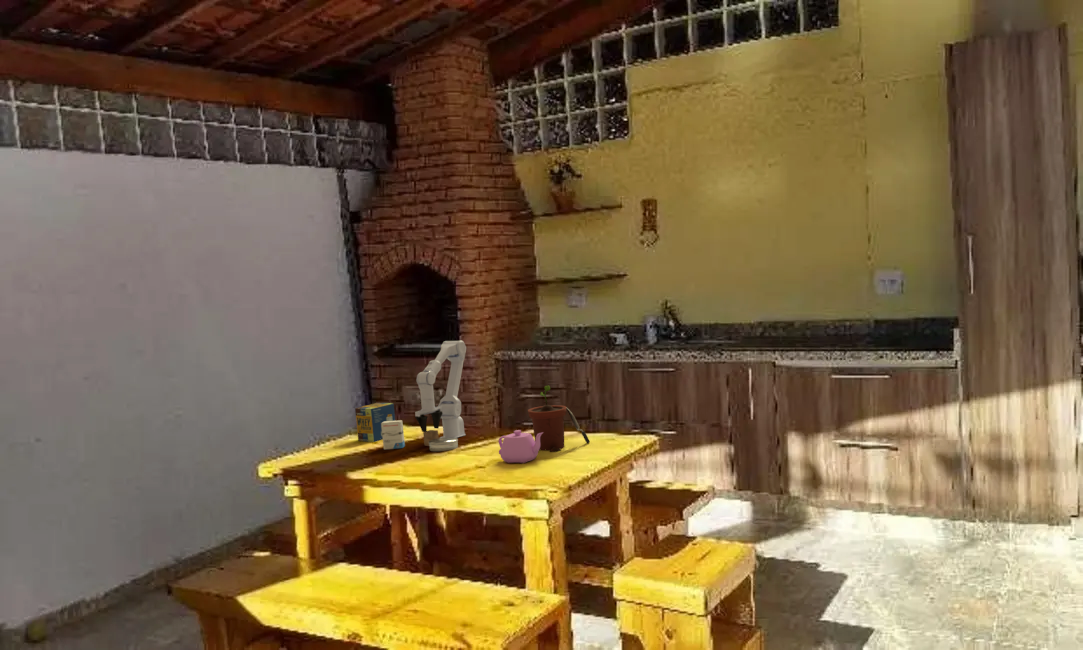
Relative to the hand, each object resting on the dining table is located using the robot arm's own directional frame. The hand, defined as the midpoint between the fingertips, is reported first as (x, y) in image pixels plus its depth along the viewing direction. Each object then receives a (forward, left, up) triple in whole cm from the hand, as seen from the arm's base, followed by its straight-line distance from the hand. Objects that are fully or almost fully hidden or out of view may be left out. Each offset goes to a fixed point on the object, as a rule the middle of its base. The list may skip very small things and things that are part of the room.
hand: (430, 429), depth 386 cm
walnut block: (0, 0, -7) cm, 7 cm away
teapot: (+13, +61, -7) cm, 63 cm away
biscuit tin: (+4, +11, -7) cm, 14 cm away
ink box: (+10, -13, -7) cm, 18 cm away
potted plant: (-11, +60, -7) cm, 61 cm away
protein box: (-4, -39, -7) cm, 40 cm away
